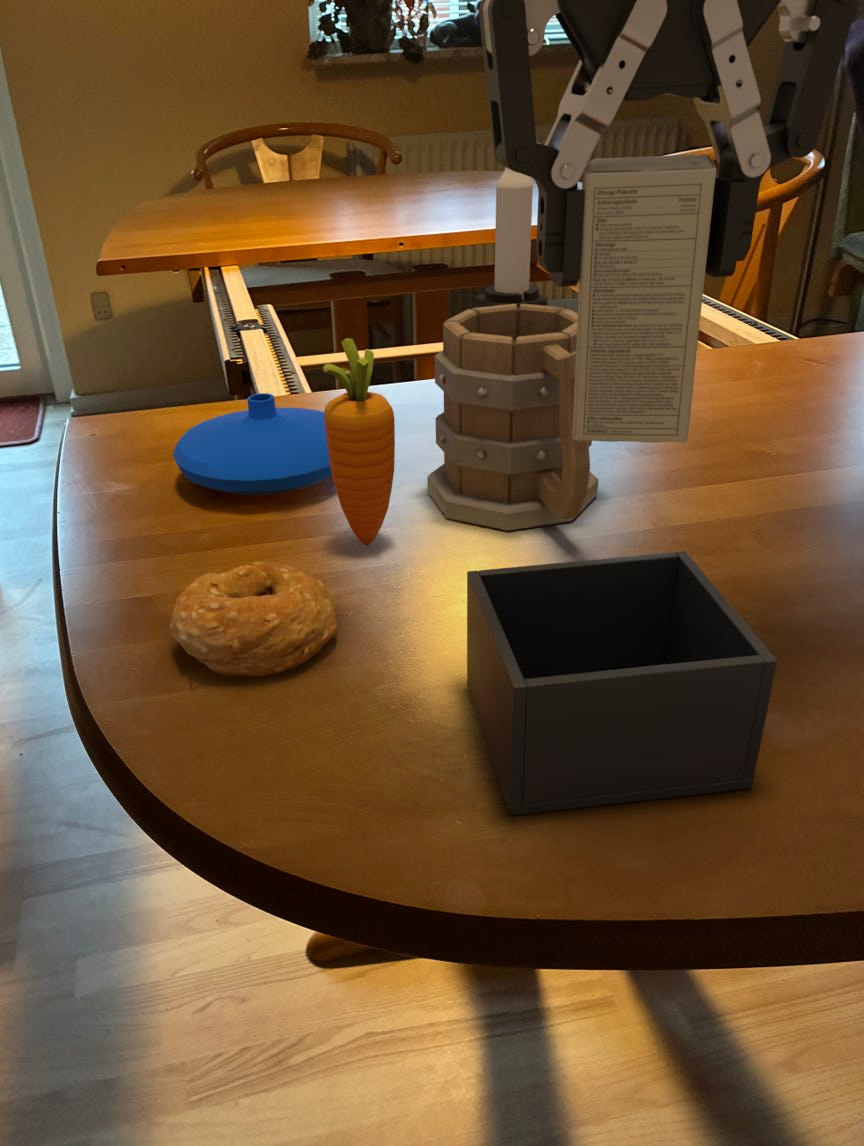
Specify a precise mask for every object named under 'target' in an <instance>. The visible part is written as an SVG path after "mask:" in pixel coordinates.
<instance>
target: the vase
mask: <svg viewBox="0 0 864 1146" xmlns="http://www.w3.org/2000/svg"><path fill="white" fill-rule="evenodd" d="M172 456H173V459H174V461H175V463H176V465H177V467H178V469H179V471H180V472H181V474H182V476H183V477H185V478H186V479H188V480H189V481H190V482H192V483H194V484H197V485H199V486H202V487H205V488H208V489H213V490H216V491H219V492H225V493H227V494H228V493H229V494H234V495H242V496H268V495H279V494H284V493H290V492H295V491H298V490H302V489H305V488H309V487H310V486H313V485H314V484H317V483H319V482H321V481H323V480H325V479H328V478H330V477H331V476H332V472H331V468H330V461H329V454H328V446H327V438H326V429H325V419H324V411H321V410H317V409H311V408H303V407H281V406H280V407H276V402H275V396H274V394H271V393H267V392H266V393H265V392H262V393H253V394H252V395H250V396H248V397H247V409H246V410H241V411H234V412H230V413H226V414H222V415H219V416H215V417H212V418H210V419H207V420H204V421H202V422H200V423H198V424H196V425H194V426H193V427H191V428H189V429H188V430H187V431H186V432H185V433H184V434H183V435H182V436H181V437H180V438H179V440H178V441H177V443H176V445H175V446H174V450H173V452H172ZM332 477H333V476H332Z"/></svg>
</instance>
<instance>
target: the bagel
mask: <svg viewBox="0 0 864 1146" xmlns="http://www.w3.org/2000/svg"><path fill="white" fill-rule="evenodd" d="M335 605H336V604H335V599H334V597H333V595H332V593H331V591H330V590H329V589H328V587H326V585H324V584H323V582H322V581H321V580H319V579H318V578H316V577H313V576H312V575H309V574H307V573H305V572H303V571H300V570H298V569H296V568H293V567H291V566H290V565H284V564H281V563H279V562H273V561H272V562H271V561H270V562H269V561H258V560H257V561H251V562H250V563H249V564H246V565H239V566H238V567H235V568H232V569H230V570H228V571H227V572H222V573H216V572H214V573H213V572H207V573H205V574H203V575H201V576H199V577H198V578H196V579H194V581H193V582H191V584H189V585H188V586H187V587H186V588H185V590H184V591H182V593H180V595H178V597H177V600H176V602H175V605H174V608H173V611H172V614H171V619H170V625H169V628H170V630H171V634H172V637H173V639H174V640H175V641H177V642H178V643H179V645H180V646H181V647H182V649H183V650H185V652H186V653H187V654H188V655H190V656H191V657H194V658H195V659H196V660H198V662H200V663H202V664H204V665H205V666H206V667H208V668H209V669H210V670H212V671H213V672H216V673H218V674H221V675H225V676H249V677H260V676H266V675H272V674H277V673H278V674H279V673H280V672H284V671H286V670H290V669H293V668H295V667H297V666H300V665H302V664H303V663H305V662H307V661H309V660H310V659H311V658H312V657H313V656H315V655H316V654H317V653H319V652H320V651H321V650H322V649H323V647H324V645H325V644H326V643H328V642H329V641H330V640H331V639H332V638H333V637H335V635H336V633H337V630H338V623H337V619H336V606H335Z"/></svg>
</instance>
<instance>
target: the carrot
mask: <svg viewBox="0 0 864 1146" xmlns="http://www.w3.org/2000/svg"><path fill="white" fill-rule="evenodd" d="M341 344H342V348H343V351H344V354H345V356H346V359H347V361H348V364H349V366H350V369H351V370H350V369H349V368H347V367H344V366H342V367H339V366H338V365H335V364H332V363H326V364H325V365H324V366H323V368H322V370H323V372H324V374H328V375H329V376H332V377H333V378H335V379H337V381H338V382H339V383H340V384H341V385H342V386H343V387H344V389H345V391H346V392H344V393H342V394H340V395H338V396H336V397H335V398H333V399H330V400H329V401H328V402H327V403H326V405H325V407H324V411H323V412H324V419H325V429H326V438H327V446H328V454H329V461H330V468H331V472H332V480H333V484H334V488H335V491H336V495H337V498H338V502H339V504H340V507H341V510H342V512H343V514H344V517H345V519H346V521H347V523H348V526H349V527H350V530H351V531H352V533H353V534H354V536H355V538H356V539H357V540H358V542H359V543H360V544H362V545H363V546H364V547H369V546H370V545H372V544H373V542H374V541H375V540H376V538H377V536H378V534H379V533H380V531H381V528H382V526H383V524H384V521H385V520H386V519H385V518H386V516H387V512H388V510H389V508H390V507H389V506H390V500H391V495H392V490H393V483H394V475H395V456H396V454H395V453H396V451H395V450H396V449H395V448H396V435H395V434H396V432H395V431H396V430H395V427H396V426H395V412H394V409H393V407H392V405H391V403H390V402H389V401H388V399H387V398H386V397H385V396H384V395H383V394H380V393H377V392H373V391H372V392H371V391H369V387H370V383H371V380H372V376H373V371H374V361H375V358H374V357H375V353H374V352H373V351H372V350H371V349H368V348H366V349H364V356H361V357H360V353H359V351H358V349H357V346H356V344H355V342H354V339H353V338H345V339H343V340H342V341H341Z"/></svg>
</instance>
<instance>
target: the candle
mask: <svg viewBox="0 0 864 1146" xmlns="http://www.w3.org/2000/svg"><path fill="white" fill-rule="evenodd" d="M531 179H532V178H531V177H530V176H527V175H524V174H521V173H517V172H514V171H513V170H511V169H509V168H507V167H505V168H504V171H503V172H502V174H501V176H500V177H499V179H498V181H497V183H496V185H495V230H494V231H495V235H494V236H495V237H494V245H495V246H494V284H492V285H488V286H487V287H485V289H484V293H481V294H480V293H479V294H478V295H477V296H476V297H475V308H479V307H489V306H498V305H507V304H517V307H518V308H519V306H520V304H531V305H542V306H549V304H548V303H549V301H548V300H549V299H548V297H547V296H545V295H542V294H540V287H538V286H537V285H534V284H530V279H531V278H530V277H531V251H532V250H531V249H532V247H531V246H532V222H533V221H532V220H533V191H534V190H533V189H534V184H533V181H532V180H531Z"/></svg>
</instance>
